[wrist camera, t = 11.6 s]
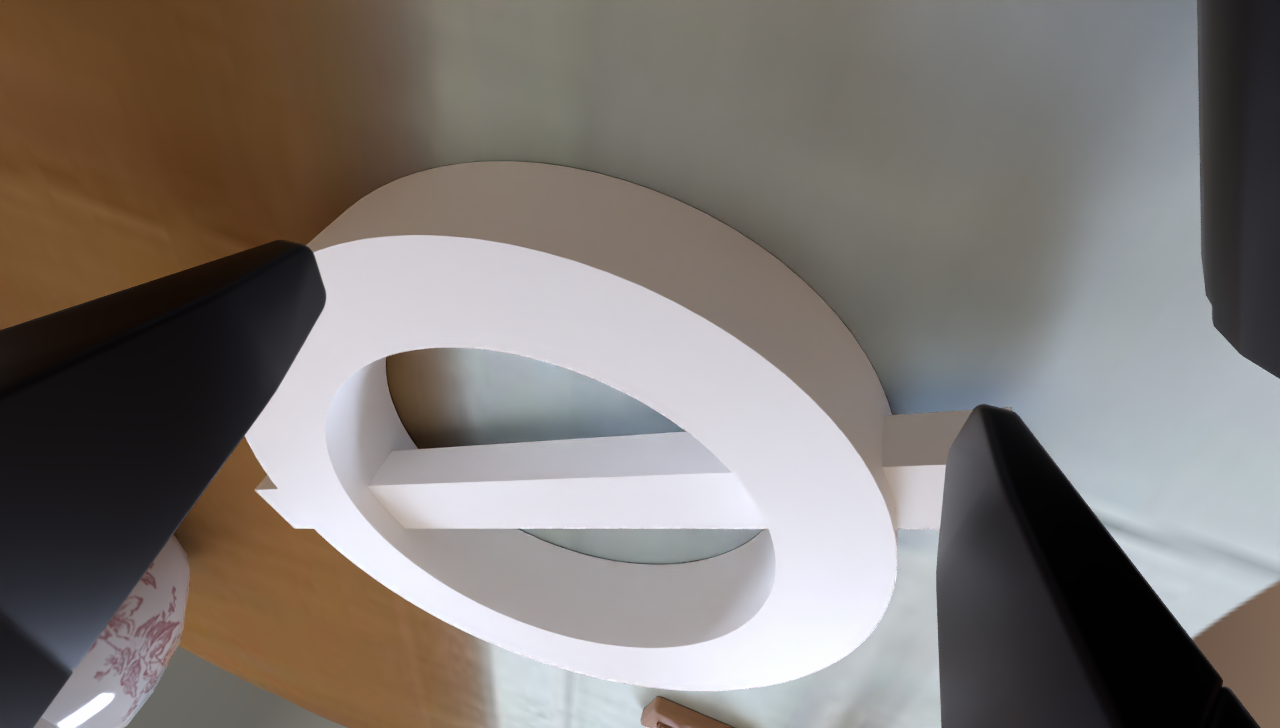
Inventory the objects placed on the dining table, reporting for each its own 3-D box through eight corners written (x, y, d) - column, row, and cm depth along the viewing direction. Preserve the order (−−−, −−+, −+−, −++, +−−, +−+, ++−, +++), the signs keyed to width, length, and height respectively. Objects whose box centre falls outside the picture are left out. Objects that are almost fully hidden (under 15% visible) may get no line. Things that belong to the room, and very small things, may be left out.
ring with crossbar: (293, 460, 41) (238, 526, 37) (314, 2, 21) (203, 54, 18) (707, 658, 43) (691, 736, 40) (1072, 411, 24) (1100, 525, 20)
